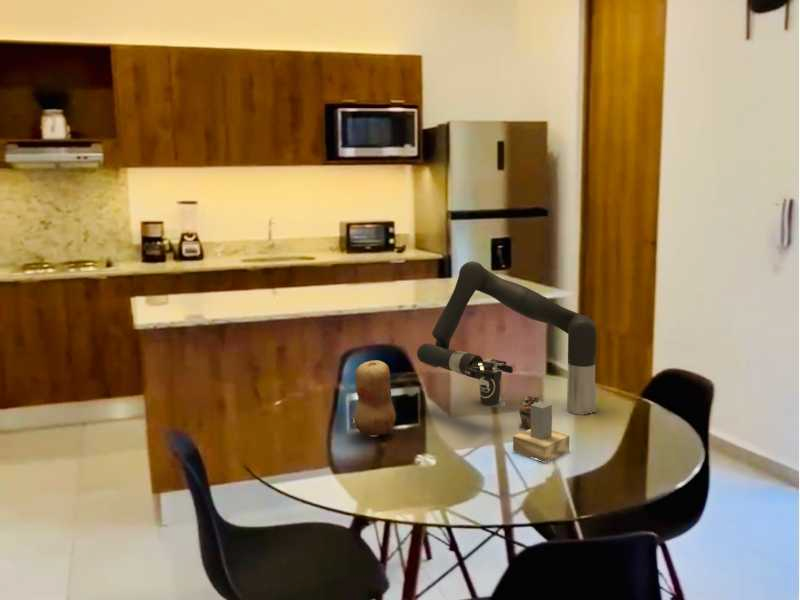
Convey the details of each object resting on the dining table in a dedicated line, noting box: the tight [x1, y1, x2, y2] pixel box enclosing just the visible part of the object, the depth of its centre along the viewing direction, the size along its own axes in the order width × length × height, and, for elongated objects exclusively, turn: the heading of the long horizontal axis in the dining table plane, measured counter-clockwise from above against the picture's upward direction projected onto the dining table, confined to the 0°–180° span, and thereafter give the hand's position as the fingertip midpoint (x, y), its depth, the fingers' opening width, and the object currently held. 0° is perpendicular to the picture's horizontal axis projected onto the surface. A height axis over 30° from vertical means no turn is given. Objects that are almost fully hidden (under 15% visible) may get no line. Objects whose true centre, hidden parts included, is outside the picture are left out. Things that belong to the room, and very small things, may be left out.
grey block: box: [531, 400, 553, 440], centre depth 233 cm, size 4×4×10 cm
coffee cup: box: [478, 359, 503, 406], centre depth 279 cm, size 10×10×15 cm
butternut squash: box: [353, 359, 397, 436], centre depth 249 cm, size 14×13×25 cm
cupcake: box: [518, 395, 543, 431], centre depth 255 cm, size 10×10×10 cm
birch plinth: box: [512, 429, 570, 463], centre depth 235 cm, size 12×12×5 cm
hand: (503, 373), depth 245 cm, fingers open, 8 cm apart
